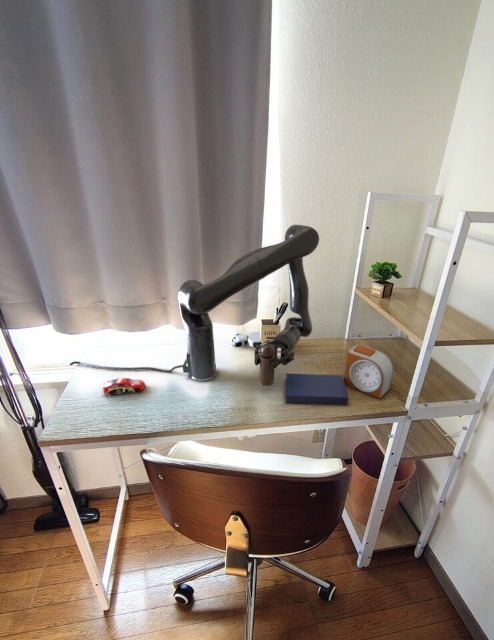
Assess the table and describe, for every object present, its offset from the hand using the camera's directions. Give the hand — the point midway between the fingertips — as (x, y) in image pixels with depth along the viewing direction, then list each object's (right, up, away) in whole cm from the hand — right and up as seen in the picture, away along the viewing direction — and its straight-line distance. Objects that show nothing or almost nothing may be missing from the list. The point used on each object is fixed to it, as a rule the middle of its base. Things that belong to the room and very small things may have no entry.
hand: (264, 364), depth 118 cm
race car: (-47, -8, +6) cm, 48 cm away
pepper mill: (+1, -5, +7) cm, 8 cm away
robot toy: (-7, +11, +37) cm, 39 cm away
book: (+17, -9, +9) cm, 21 cm away
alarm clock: (+35, -7, +13) cm, 38 cm away
